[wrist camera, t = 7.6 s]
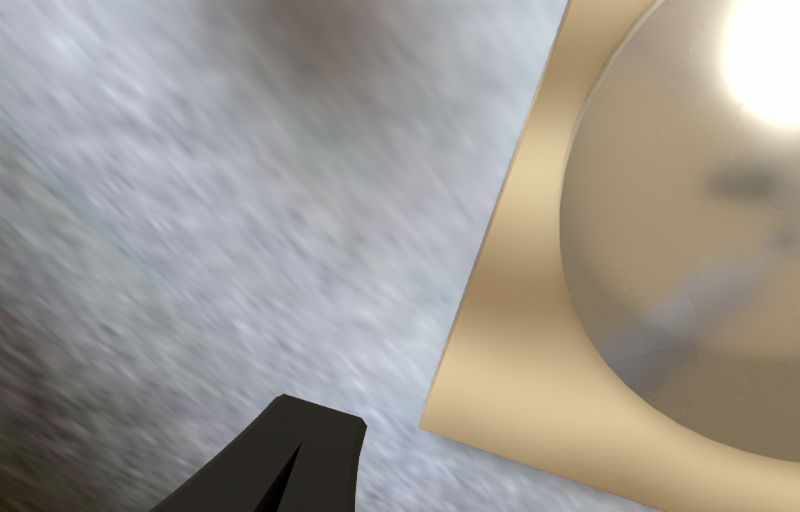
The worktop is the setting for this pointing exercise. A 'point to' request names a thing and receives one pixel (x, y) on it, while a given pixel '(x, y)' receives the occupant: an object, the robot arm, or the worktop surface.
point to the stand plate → (572, 333)
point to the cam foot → (694, 217)
